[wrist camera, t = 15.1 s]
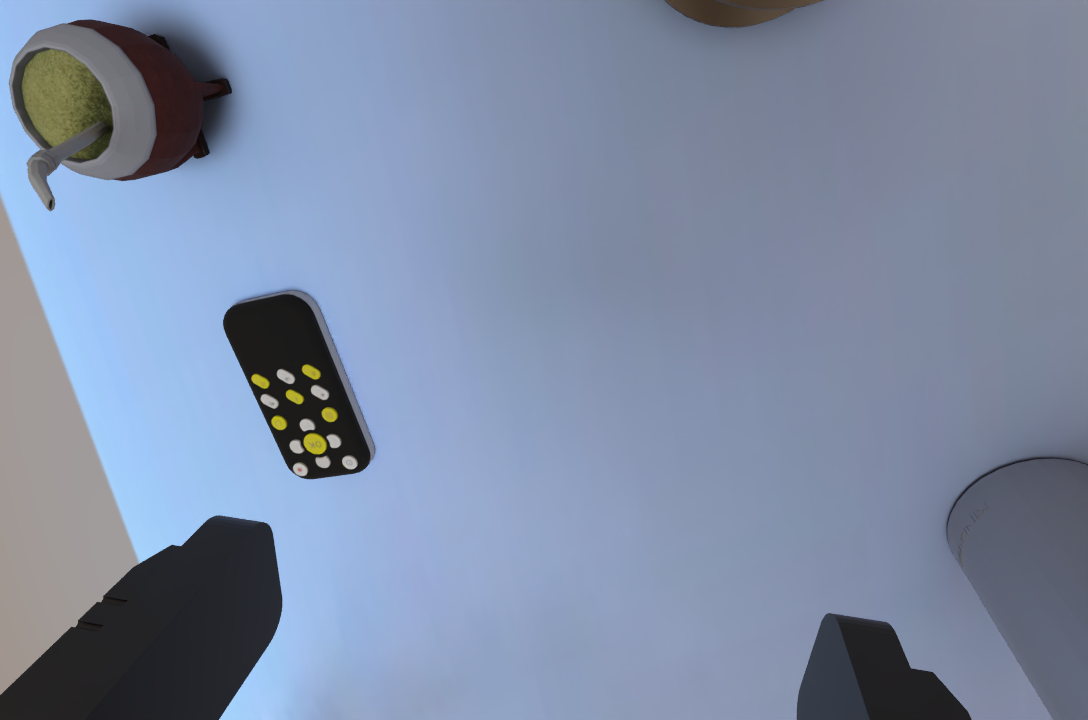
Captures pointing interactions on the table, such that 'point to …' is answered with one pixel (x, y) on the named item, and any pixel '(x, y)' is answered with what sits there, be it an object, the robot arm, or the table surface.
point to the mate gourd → (107, 103)
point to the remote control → (300, 384)
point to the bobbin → (736, 10)
